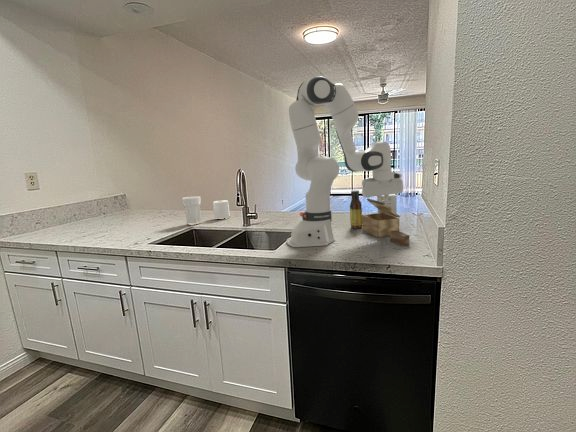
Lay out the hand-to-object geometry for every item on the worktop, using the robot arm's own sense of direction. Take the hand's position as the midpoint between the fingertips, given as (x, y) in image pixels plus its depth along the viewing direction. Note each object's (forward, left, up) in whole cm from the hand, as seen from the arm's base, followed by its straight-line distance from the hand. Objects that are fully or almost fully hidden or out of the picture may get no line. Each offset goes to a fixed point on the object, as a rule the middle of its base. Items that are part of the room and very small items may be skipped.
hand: (383, 204), depth 160 cm
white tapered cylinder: (-78, +80, -14) cm, 112 cm away
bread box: (-2, 0, -14) cm, 14 cm away
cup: (-96, +70, -14) cm, 119 cm away
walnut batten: (-3, -20, -14) cm, 25 cm away
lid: (-1, 0, -2) cm, 2 cm away
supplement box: (+8, +12, -14) cm, 20 cm away
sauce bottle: (-8, +15, -14) cm, 22 cm away
